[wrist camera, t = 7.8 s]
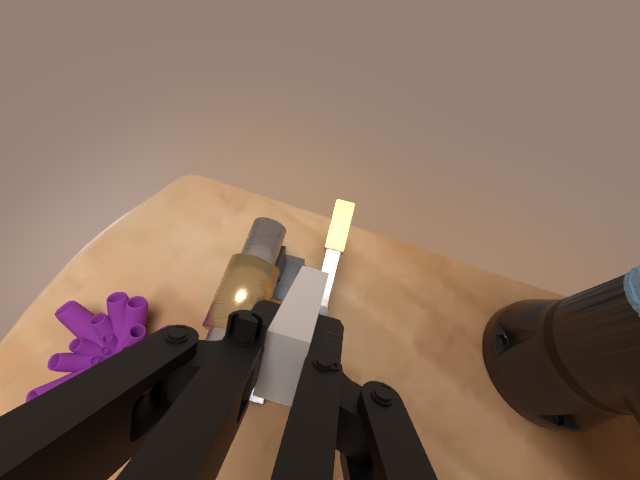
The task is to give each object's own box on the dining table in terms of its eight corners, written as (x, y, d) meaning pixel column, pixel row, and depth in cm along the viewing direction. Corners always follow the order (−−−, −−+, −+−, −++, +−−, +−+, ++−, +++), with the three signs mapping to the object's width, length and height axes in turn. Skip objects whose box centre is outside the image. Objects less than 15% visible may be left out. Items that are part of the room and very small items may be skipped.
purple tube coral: (165, 311, 43) (192, 295, 36) (131, 441, 35) (158, 449, 29) (64, 291, 36) (75, 268, 30) (-3, 446, 29) (-6, 459, 23)
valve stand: (283, 409, 35) (279, 410, 26) (202, 387, 36) (169, 380, 26) (320, 267, 44) (327, 229, 34) (254, 251, 44) (244, 208, 35)
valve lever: (323, 333, 31) (355, 202, 34) (304, 328, 31) (337, 198, 34) (323, 331, 33) (352, 209, 36) (305, 326, 33) (335, 205, 36)
